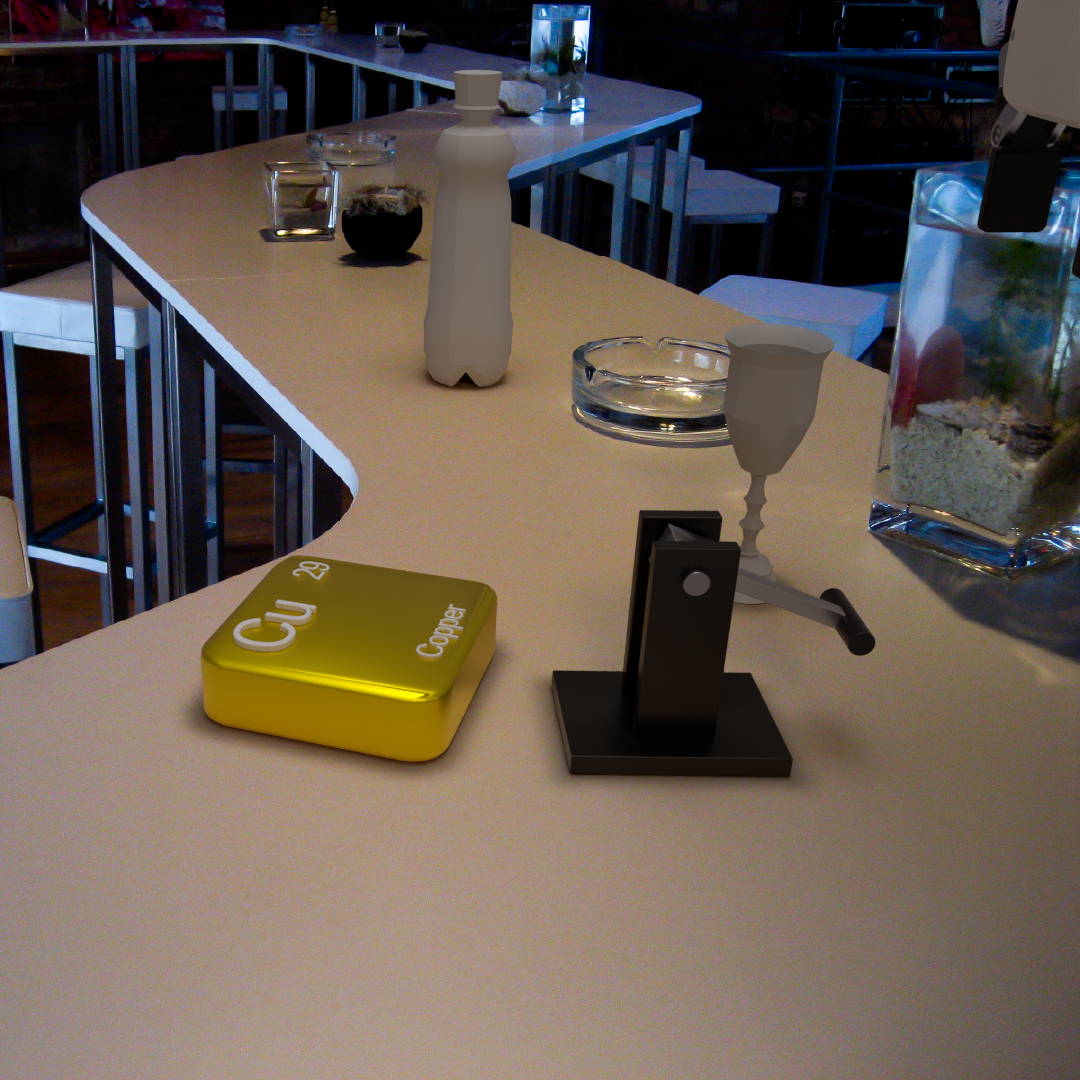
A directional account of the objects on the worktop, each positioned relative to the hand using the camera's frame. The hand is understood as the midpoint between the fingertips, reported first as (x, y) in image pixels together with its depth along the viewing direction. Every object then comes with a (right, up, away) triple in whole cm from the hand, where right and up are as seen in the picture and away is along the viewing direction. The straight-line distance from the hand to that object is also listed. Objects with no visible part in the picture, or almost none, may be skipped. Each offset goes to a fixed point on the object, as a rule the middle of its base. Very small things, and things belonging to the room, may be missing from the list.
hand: (1056, 252), depth 59 cm
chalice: (-6, -17, +30) cm, 35 cm away
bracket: (-15, -24, +14) cm, 32 cm away
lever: (-11, -17, +11) cm, 23 cm away
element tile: (-33, -22, +19) cm, 44 cm away
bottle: (-21, +3, +73) cm, 76 cm away
